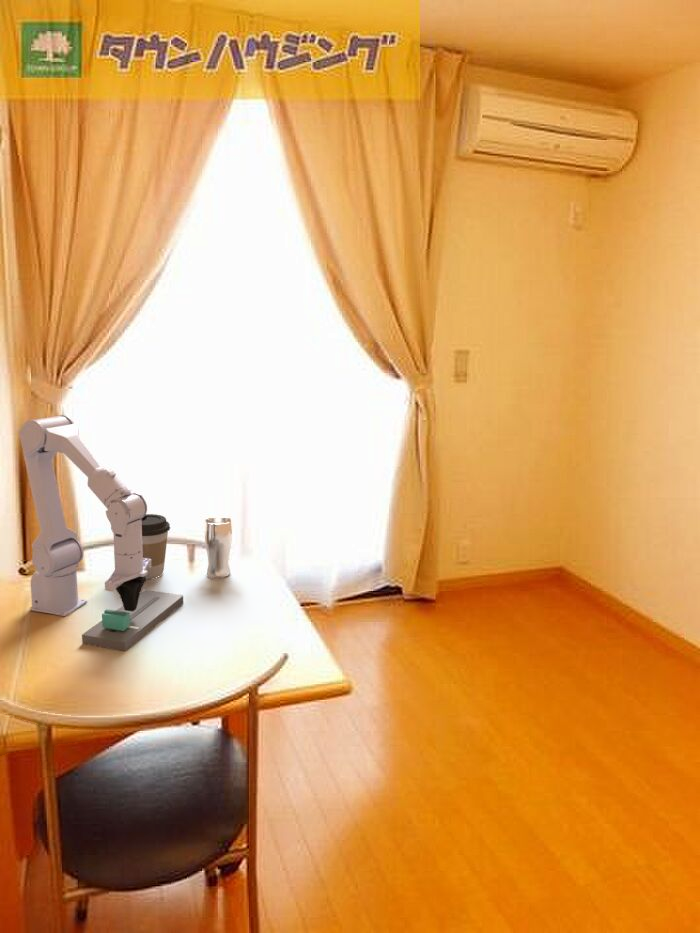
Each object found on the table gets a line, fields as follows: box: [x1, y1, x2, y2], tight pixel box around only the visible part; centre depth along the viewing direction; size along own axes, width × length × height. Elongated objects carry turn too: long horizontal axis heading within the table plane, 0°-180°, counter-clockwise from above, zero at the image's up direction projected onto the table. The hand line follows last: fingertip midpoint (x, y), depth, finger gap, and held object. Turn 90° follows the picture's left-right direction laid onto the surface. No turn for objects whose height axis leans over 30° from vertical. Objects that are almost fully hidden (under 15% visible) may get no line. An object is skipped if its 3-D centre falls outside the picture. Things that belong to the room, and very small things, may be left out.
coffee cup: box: [139, 513, 171, 580], centre depth 170 cm, size 11×11×15 cm
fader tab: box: [101, 609, 130, 631], centre depth 137 cm, size 5×2×3 cm, turn 76°
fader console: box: [81, 589, 184, 652], centre depth 145 cm, size 10×24×2 cm, turn 166°
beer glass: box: [204, 515, 233, 579], centre depth 172 cm, size 7×7×15 cm
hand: (130, 609), depth 143 cm, fingers closed
